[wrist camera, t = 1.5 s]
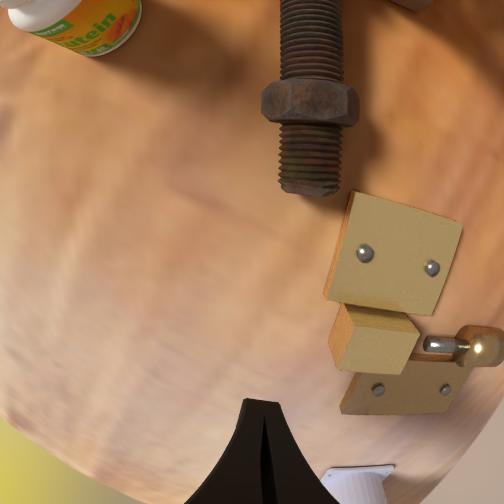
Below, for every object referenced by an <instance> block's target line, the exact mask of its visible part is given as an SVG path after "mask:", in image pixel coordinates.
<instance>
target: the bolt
mask: <svg viewBox="0 0 504 504" xmlns="http://www.w3.org/2000/svg"><path fill="white" fill-rule="evenodd" d="M280 3H281V4H280V7H281V8H280V11H281V13H280V17H281V19H280V23H281V25H280V28H281V30H280V33H281V35H280V37H281V41H280V44H281V47H280V50H281V52H280V55H281V59H280V60H281V63H282V64H281V66H280V67H281V68H282V70H281V71H280V73H281V74H282V76H281V77H280V79H281V80H280V81H277V82H273V83H271V84H270V85H269V86H268V87H267V88H266V89H264V90H263V91H262V106H261V113H262V114H263V115H264V116H265V117H266V118H267V119H268V120H269V121H270V122H275V123H280V124H282V125H283V126H282V127H280V128H279V129H280V130H281V131H282V133H281V134H280V135H279V136H280V137H282V138H283V139H281V140H280V141H279V142H280V143H281V144H282V145H281V146H280V147H279V149H280V150H282V152H281V153H280V154H278V155H279V156H281V157H282V158H281V159H280V160H279V161H278V162H280V163H281V164H282V165H281V166H280V167H279V168H278V169H280V170H281V172H280V173H279V174H278V175H279V176H280V177H281V178H280V179H279V180H278V182H279V183H281V184H282V185H281V188H282V189H283V190H284V191H285V192H287V193H294V194H303V195H313V196H329V195H330V194H334V193H335V192H337V191H338V190H339V189H340V187H339V186H338V184H339V183H340V182H341V181H340V180H339V179H337V178H339V177H341V175H340V174H339V173H338V171H340V170H341V168H340V167H339V166H338V165H339V164H341V161H340V160H339V159H338V158H340V157H341V156H342V155H341V154H340V153H339V151H341V150H342V148H341V147H340V146H339V145H340V144H341V143H342V142H341V141H340V139H339V138H341V137H343V136H342V135H341V134H340V133H339V132H340V131H342V130H343V129H342V128H341V127H352V126H354V125H355V124H356V123H357V122H358V120H359V98H358V95H357V93H356V91H355V90H354V89H353V88H352V87H351V86H348V85H345V84H343V83H342V82H341V81H342V80H343V79H344V78H343V77H342V76H341V75H342V74H343V73H344V72H343V71H342V70H341V69H342V68H343V67H344V66H343V64H341V63H342V62H343V61H344V60H343V58H342V56H343V52H341V51H343V47H342V45H343V41H342V39H343V35H342V32H343V31H342V30H341V28H342V25H341V22H342V21H341V0H280Z"/></svg>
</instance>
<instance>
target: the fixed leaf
mask: <svg viewBox="0 0 504 504" xmlns="http://www.w3.org/2000/svg"><path fill="white" fill-rule="evenodd" d="M423 349H424V351H425V352H439V353H453V356H444V355H426V354H410V356H409V358H408V360H407V362H406V364H405V366H404V368H403V370H402V372H401V374H400V375H396V374H378V373H363V372H356V373H355V375H354V378H353V380H352V382H351V384H350V386H349V388H348V390H347V392H346V394H345V396H344V398H343V400H342V402H341V404H340V410H341V413H342V414H347V415H410V414H429V413H443V412H446V411H447V409H448V408H449V406H450V405H451V403H452V402H453V400H454V399H455V397H456V396H457V394H458V392H459V391H460V389H461V388H462V386H463V384H464V383H465V381H466V379H467V378H468V376H469V374H470V373H471V371H472V369H473V367H496V366H498V365H499V364H501V363H502V362H503V360H504V331H502V330H501V329H494V328H484V327H474V326H465V327H463V328H461V329H460V330H459V332H458V333H457V335H456V337H455V339H454V338H442V337H431V336H427V337H426V338H425V339H424V342H423Z"/></svg>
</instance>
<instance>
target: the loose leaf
mask: <svg viewBox="0 0 504 504" xmlns="http://www.w3.org/2000/svg"><path fill="white" fill-rule="evenodd" d="M462 228H463V224H462V223H460V222H457V221H455V220H452V219H449V218H446V217H443V216H440V215H437V214H433V213H430V212H427V211H424V210H421V209H417V208H414V207H411V206H408V205H404V204H401V203H397V202H394V201H390V200H387V199H383V198H380V197H376V196H372V195H369V194H365V193H361V192H357V191H354V190H351V193H350V198H349V202H348V206H347V210H346V214H345V218H344V222H343V226H342V229H341V233H340V237H339V241H338V244H337V248H336V252H335V255H334V259H333V262H332V266H331V269H330V273H329V276H328V280H327V283H326V286H325V290H324V293H323V294H324V296H325V299H326V300H329V301H335V302H341V303H342V304H341V307H340V310H339V313H338V316H337V319H336V321H335V324H334V327H333V330H332V333H331V335H330V338H329V341H328V344H329V347H330V350H331V353H332V356H333V360H334V363H335V366H336V369H337V370H340V371H351V372H363V373H378V374H396V375H400V374H401V372H402V370H403V368H404V366H405V364H406V362H407V360H408V358H409V356H410V354H411V352H412V350H413V348H414V346H415V344H416V342H417V340H418V338H419V335H420V333H419V331H418V330H417V329H416V328H415V326H414V325H413V324H412V322H411V321H410V320H409V319H408V317H407V316H406V315H405V314H404V312H406V313H413V314H421V315H428V316H431V315H432V313H433V310H434V308H435V306H436V303H437V301H438V298H439V296H440V293H441V291H442V288H443V285H444V283H445V280H446V277H447V274H448V272H449V269H450V266H451V263H452V260H453V257H454V254H455V251H456V248H457V245H458V241H459V238H460V235H461V231H462Z"/></svg>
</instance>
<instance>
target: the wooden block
mask: <svg viewBox="0 0 504 504" xmlns="http://www.w3.org/2000/svg"><path fill="white" fill-rule="evenodd" d="M390 1H392V2H394V3H397V4H399V5H401V6H404V7H406V8H408V9H410V10H412V11H414V12H421V11H422V10H423V9H424V8H426V7H427V6H428V5H430V4H431V3H432V2H434V1H435V0H390Z"/></svg>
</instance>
